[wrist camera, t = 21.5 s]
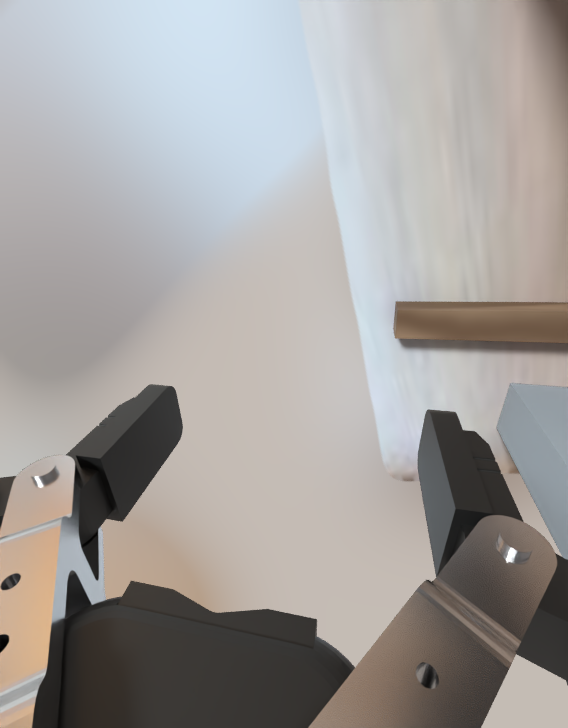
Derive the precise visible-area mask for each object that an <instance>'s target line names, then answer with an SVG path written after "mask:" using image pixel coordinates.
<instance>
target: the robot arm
mask: <svg viewBox="0 0 568 728" xmlns="http://www.w3.org/2000/svg"><path fill="white" fill-rule="evenodd" d="M182 429H183V426H182V419H181V414H180V409H179V405H178V399H177V394H176V391H175V389H174V387H172V386H163V385H148V386H147V387H146V388H145V389H144V390H143V391H142V392H141V393H140V394H139V395H138V396H137V397H135V398H132V399H130V400H129V401H126V402H125V403H123V404H122V405H119V406H118V407H117V408H116V409H115V410H114V411H113V412H112V413H111V414H109V415H108V418H105V419H104V420H103V421H102V422H101V423H100V424H99V426H97V427H96V428H94V429H93V430H92V431H91V432H90V433H89V434H88V435H87V436H86V437H85V438H84V439H83V440H81V441H80V442H79V443H78V444H77V445H76V446H75V447H74V448H73V449H72V450H71V451H70V452H69V453H68V454H66V455H54V456H49V457H46V458H43V459H40V460H38V461H36V462H34V463H32V464H30V465H29V466H27V467H26V468H24V469H23V470H22V471H21V472H20V473H19V474H18V475H17V476H13V477H4V478H0V728H481V726H482V724H483V722H484V720H485V718H486V716H487V714H488V712H489V710H490V707H491V705H492V703H493V701H494V699H495V697H496V695H497V693H498V691H499V689H500V687H501V684H502V682H503V680H504V678H505V676H506V674H507V672H508V670H509V668H510V666H511V664H512V662H513V659H514V657H515V655H516V654H517V655H519V656H521V657H523V658H525V659H527V660H529V661H530V662H532V663H534V664H536V665H538V666H540V667H542V668H544V669H546V670H548V671H550V672H551V673H553V674H555V675H557V676H559V677H561V678H563V679H565V680H566V682H567V685H568V560H567V559H565V558H563V557H561V556H559V555H557V554H556V553H555V552H554V550H553V548H552V546H551V545H550V543H549V542H548V541H547V540H546V539H545V537H544V536H542V535H541V534H540V533H539V532H538V531H537V530H535V529H534V528H533V527H531V526H529V525H528V524H526V523H524V522H523V520H522V517H521V515H520V513H519V511H518V508H517V506H516V504H515V502H514V500H513V497H512V495H511V493H510V491H509V489H508V486H507V484H506V482H505V480H504V478H503V475H502V474H501V471H500V468H499V466H498V464H497V462H495V457H494V455H493V453H492V451H491V448H490V446H489V444H488V443H487V442H486V441H485V440H483V439H482V438H481V437H480V436H479V435H478V434H477V433H476V432H475V431H465V430H463V429H462V427H461V424H460V421H459V419H458V416H457V414H456V412H450V411H439V410H427V411H426V414H425V419H424V424H423V429H422V435H421V440H420V445H419V451H418V473H419V479H420V485H421V491H422V497H423V503H424V508H425V514H426V520H427V526H428V532H429V538H430V543H431V549H432V555H433V561H434V567H435V573H436V579H435V580H434V581H432V582H431V581H429V580H426V581H424V582H423V583H422V584H421V585H420V586H419V588H418V589H417V590H416V591H415V592H414V594H413V595H412V596H411V598H410V599H409V600H408V601H407V603H406V604H405V605H404V607H403V608H402V609H401V610H400V612H399V613H398V614H397V615H396V617H395V618H394V620H392V622H391V623H390V624H389V626H388V627H387V628H386V629H385V631H384V632H383V633H382V634H381V636H380V637H379V638H378V640H377V641H376V642H375V643H374V645H373V646H372V647H371V649H370V650H369V651H368V652H367V654H366V655H365V656H364V657H363V659H362V660H361V661H360V663H359V664H358V665H357V666H356V668H355V667H354V666H353V665H352V664H351V662H350V661H349V660H348V659H347V658H346V657H345V656H343V655H342V654H341V653H340V652H339V651H338V650H337V649H336V648H334V647H333V646H331V645H330V644H329V643H327V642H326V641H324V640H322V639H320V638H319V637H317V619H312V618H307V617H303V616H298V615H293V614H289V613H284V612H279V611H274V610H269V609H262V610H250V611H238V612H224V613H215V612H212V611H209V610H208V609H206V608H204V607H202V606H201V605H199V604H197V603H195V602H194V601H192V600H191V599H189V598H187V597H185V596H184V595H182V594H180V593H178V592H177V591H175V590H173V589H169V588H164V587H159V586H154V585H149V584H145V583H139V582H134V581H131V582H130V584H129V586H128V587H127V589H126V591H125V593H124V594H123V596H122V597H117V598H112V599H107V600H106V597H105V589H104V554H103V532H102V529H101V525H102V524H103V522H104V521H105V520H106V519H111V520H116V521H123V520H124V519H125V517H126V516H127V515H128V513H129V512H130V510H131V509H132V508H133V506H134V505H135V503H136V502H137V500H138V499H139V497H140V496H141V495H142V493H143V492H144V491H145V489H146V488H147V486H148V485H149V483H150V482H151V480H152V479H153V478H154V476H155V475H156V474H157V472H158V471H159V469H160V468H161V466H162V465H163V464H164V462H165V461H166V459H167V458H168V457H169V455H170V454H171V452H172V451H173V449H174V448H175V447H176V445H177V444H178V442H179V440H180V438H181V435H182Z"/></svg>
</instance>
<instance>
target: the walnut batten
mask: <svg viewBox="0 0 568 728" xmlns="http://www.w3.org/2000/svg"><path fill="white" fill-rule="evenodd" d="M393 329H394V335H395V338H401V339H438V340H475V341H512V342H549V343H568V303H555V302H396V306H395V317H394V328H393Z"/></svg>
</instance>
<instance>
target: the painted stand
mask: <svg viewBox="0 0 568 728" xmlns="http://www.w3.org/2000/svg"><path fill="white" fill-rule="evenodd" d="M497 430H498V432H499V433H500V435H501V437H502V439H503V441H504V443H505V445H506V447H507V449H508V451H509V453H510V455H511V457H512V459H513V461H514V463H515V465H516V467H517V469H518V471H519V473H520V475H521V476H522V479H523V480H524V482H525V484H526V486H527V488H528V490H529V492H530V494H531V496H532V498H533V500H534V502H535V504H536V506H537V508H538V510H539V512H540V514H541V516H542V518H543V520H544V522H545V523H546V525H547V527H548V529H549V531H550V533H551V535H552V537H553V539H554V541H555V543H556V545H557V547H558V549H559V551H560V553H561V555H562V557H563V558H565V559H567V560H568V387H556V386H542V385H528V384H514V383H510V386H509V389H508V393H507V396H506V399H505V402H504V406H503V409H502V412H501V415H500V418H499V422H498V425H497Z"/></svg>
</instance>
